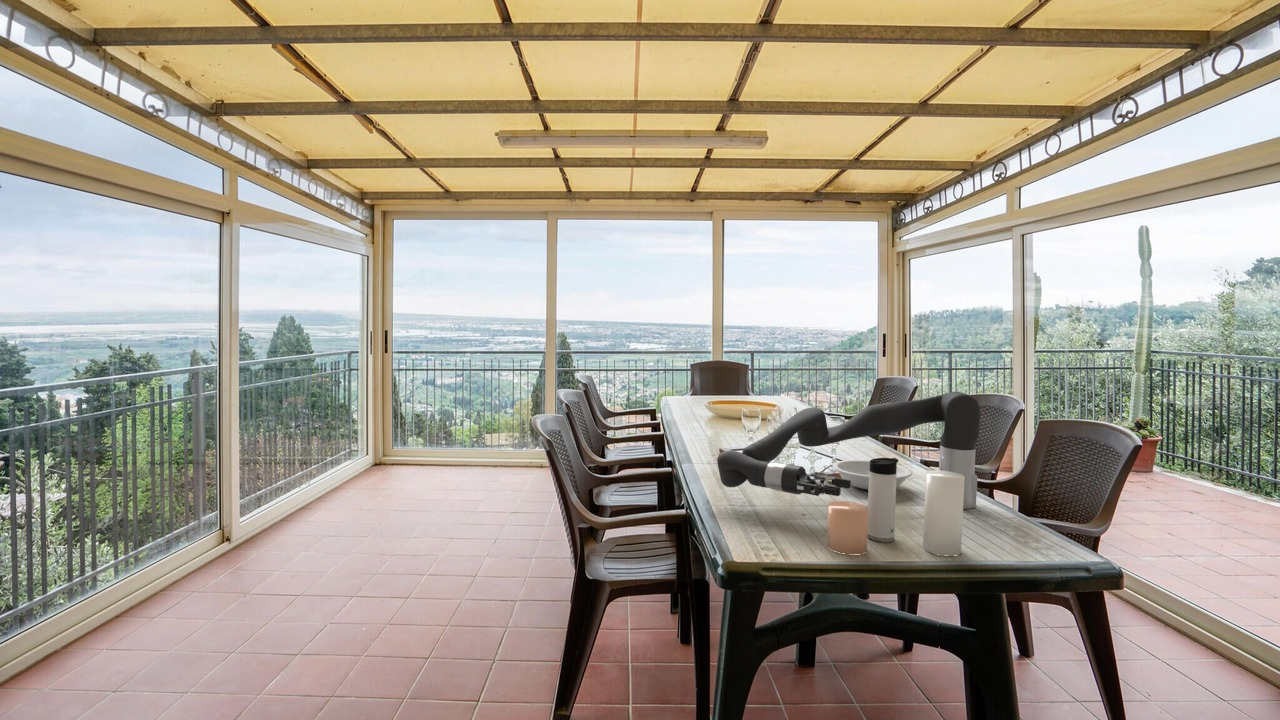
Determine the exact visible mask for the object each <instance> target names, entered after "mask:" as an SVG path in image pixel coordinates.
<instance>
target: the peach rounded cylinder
mask: <svg viewBox="0 0 1280 720" xmlns="http://www.w3.org/2000/svg"><path fill="white" fill-rule="evenodd" d="M868 518H869V508H868V505H865V504H863V503H859V502H855V501H847V500H834V501H831V502H829V503H828V504H827V530H826V532H827V533H826V534H827V536H826V539H827V540H826V547H827V546H828V547H829V548H830V549H832V550H834V551H837V552H840V553H845V554H863V553H865V552H867V553H868V545H869V541H868V540H869V538H868Z"/></svg>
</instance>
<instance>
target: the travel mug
mask: <svg viewBox="0 0 1280 720" xmlns="http://www.w3.org/2000/svg"><path fill="white" fill-rule="evenodd" d="M869 460H870V469H869V490H867V491H868V494H867V495H868V496H867V507H868V508H869V518H868V539H869V538H870V540H871V539H872V540H871V541H873V540H876V541H875V542H877V541H881V542H880V543H885V542H886V543H891V542H890V541H892V542H894V540H895V531H896V530H895V529H896V526H895V525H896V501H897V487H896V479H897V476H896V475H897V473H896V472H897V471H896V469H897V465H898V464H897V463H899V459H897V458H896V457H891V458H890V457H879V458H878V457H877V458H872V459H869Z"/></svg>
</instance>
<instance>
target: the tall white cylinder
mask: <svg viewBox="0 0 1280 720" xmlns="http://www.w3.org/2000/svg"><path fill="white" fill-rule="evenodd" d="M964 479H965V477H964V476H963V475H961V474H958V473H954V472H949V471H940V470H939V469H935V470H928V471H926V472H925V484H924V485H925V487H924V506H923V507H924V508H923V509H924V510H923V513H924V514H923V534H922V549H923V548H924V549H925V550H924V549H923V550H924V551H926V550H927V551H929V552H932V553H935V554H939V555H949V556H954V555H959V554H960V553H961V554H962V540H963V538H962V537H963V520H964V519H963V518H964V517H963V516H964V509H963V500H964ZM927 551H926V552H927ZM929 552H928V553H929ZM932 553H931V554H932ZM935 554H934V555H935ZM939 555H938V556H939ZM959 556H960V555H959Z"/></svg>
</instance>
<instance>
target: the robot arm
mask: <svg viewBox="0 0 1280 720" xmlns="http://www.w3.org/2000/svg"><path fill="white" fill-rule="evenodd" d="M941 422H944V427H943V434H942V435H940V441H939V463H938V465H939V466H938V470H940V471H949V472H954V473H958V474H961V475H963V476H964V477H965V479H964V500H963V510H968V509H969V510H970V509H977V496H978V495H977V494H978V493H977V492H978V475H977V474H975V470H976V469H975V467H976V449H977V447H976V446H977V442H978V440H979V436H980V426H981V405H980V403H979V402H978V400H977V399H976V397H973V396H972V395H970V394H968V393H965V392H960V391H952V392H951V391H949V392H947V393H943V394H939V395H936V396H931V397H927V398H922V399H917V400H916V399H915V400H902V401H900V400H899V401H892V402H884V403H877V404H872V405H871V404H870V405H868V406H866V407H864V408H863V409H861V410H860V411H859V412H857V413H856V414H855V415H853V416H852V417H851V418H850V419H848V420H846V421H845V422H843V423H841V424H839V425H835V426H832V427H828V423H827V417H826V413H825V412H824V410H823V409H821V408H819V407H807V408H803V409H802V410H800V411H798V412H796V413H795V414H794V415H793V416H791V417H790V418H788V419H787V420H786V421H785V422H783V423H782V424H781V425H779V426H778V427H776V428H775V429H774V430H773V431H772V432H770V433H769V434H767V435H765V436H764V437H762V438H760V439H759V440H756V441H754V442H752V443H750V444H749V445H747V446H746V447H744V448H743V449H742V452H740V451H736V450H732V449H731V450H724V451H722V452H720V453H719V454H718V455H717V459H716V462H717V463H716V464H717V468H718V473H719V479H720V481H721V483H722V485H724V487H727V488H736V487H740V486H742V485H743V484H744V483H745V482H747V481H748V483H749V484H750V485H752V486H756V487H759V488H765V489H770V490H774V491H775V492H782V493H788V494H793V495H802V494H805V495H810V496H816V497H819V496H820V495H821V496H823V495H829V496H835V497H839V496H841V488H842V489H847V490H849V489H850V488H851V487H852V485H851V481H850V480H846V479H843V478H840V477H837V475H836V474H831V473H826V472H825V473H824V472H818V471H814V472H813V473H810V474H808V473H807V471H806V469H805V468H804V466H800V465H795V464H789V463H788V464H787V463H781V462H772V461H774V460H775V459H776V458H777V457H778V456H780V454H781V453H782V451H783V450H784V449H785V447H786V446H787V445H788V443H789V442H790V441H791V439H792V438H793V437H794V436H795V435H796V434H797V438H798V443H799V444H800V445H802V446H803V447H809V448H810V447H821V446H824V445H825V446H826V445H829V444H830V445H831V444H835V443H839V442H843V441H847V440H853V439H859V438H864V437H865V438H866V437H872V436H873V437H874V436H880V435H881V436H882V435H883V436H884V435H889V434H896V433H900V432H903V431H906V430H910V429H912V428H916V427H918V426H919V425H923V424H929V423H941ZM830 480H831V481H830Z"/></svg>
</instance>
